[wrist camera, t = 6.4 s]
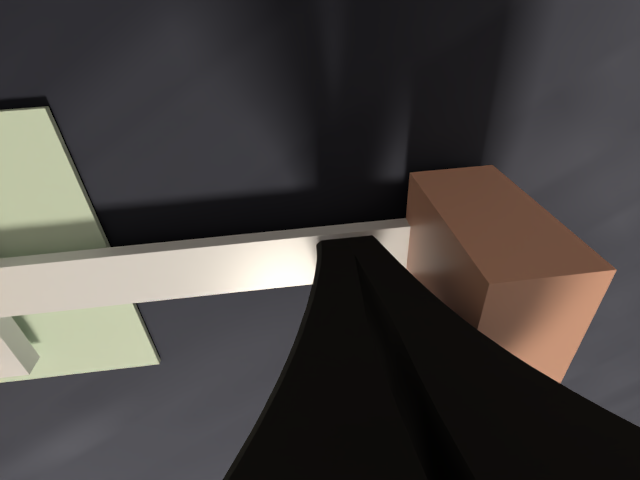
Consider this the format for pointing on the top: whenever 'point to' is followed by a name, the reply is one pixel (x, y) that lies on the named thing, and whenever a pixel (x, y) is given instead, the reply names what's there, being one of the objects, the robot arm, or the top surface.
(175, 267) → the cream and orange bar
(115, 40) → the top surface
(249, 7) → the top surface
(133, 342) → the pad
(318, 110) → the top surface
